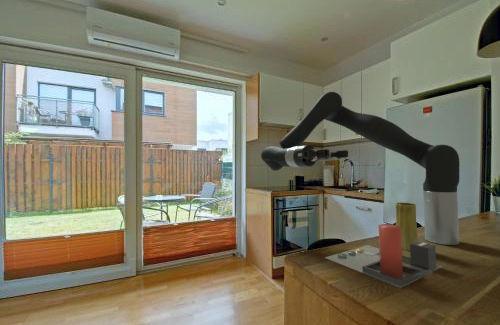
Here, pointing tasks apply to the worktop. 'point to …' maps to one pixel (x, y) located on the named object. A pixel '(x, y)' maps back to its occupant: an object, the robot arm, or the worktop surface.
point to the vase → (407, 223)
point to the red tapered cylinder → (390, 250)
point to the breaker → (423, 255)
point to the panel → (369, 264)
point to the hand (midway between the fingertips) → (338, 153)
